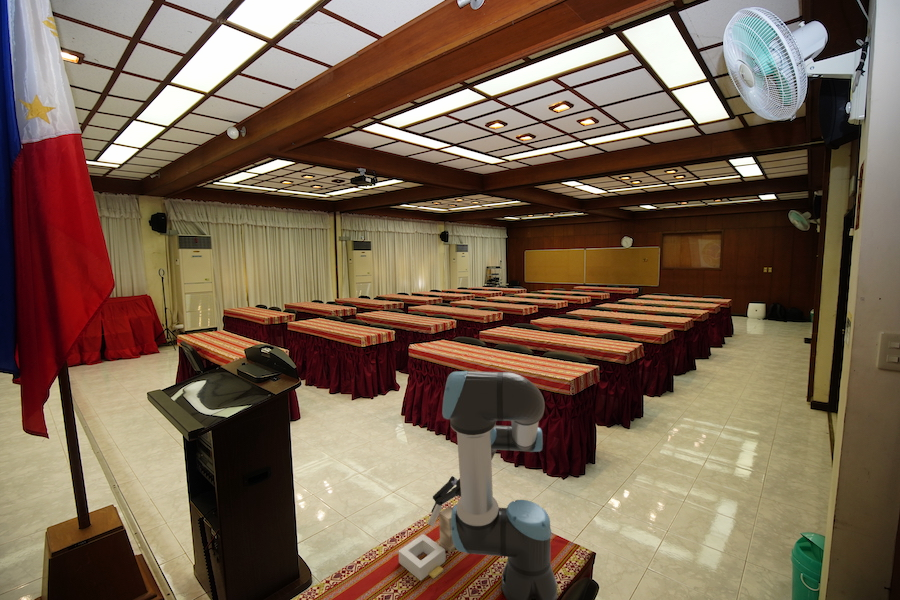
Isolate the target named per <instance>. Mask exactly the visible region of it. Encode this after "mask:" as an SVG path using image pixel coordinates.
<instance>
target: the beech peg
mask: <svg viewBox="0 0 900 600" xmlns="http://www.w3.org/2000/svg"><path fill="white" fill-rule="evenodd" d="M452 510H453V508H452V507H450V506H448V507H446V508H444V509H442V510H441V512H440V513H439V516H438V520H439V521H438V523H439V545H440V546H441V547H443V548H444V549H445V550H447V551H448V552H452V551H453V550H455V549H456V548H455V546H454V544H453V540H452V533H451V530H452V527H451V515H452Z"/></svg>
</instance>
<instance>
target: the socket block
mask: <svg viewBox="0 0 900 600" xmlns="http://www.w3.org/2000/svg"><path fill="white" fill-rule="evenodd" d="M422 553H424V554H426V556H425V557H424V558H422V559H419V558H418V556H419V555H421V554H422ZM445 562H446V549H445V548H444V547H442V546H441V545H440V544H439V543H437V542H436V541H434V540H433V539H431V538H430V537H429V536H427V535H426V534H424V533H422V534H421V535H419V536H418V537H417V538H415V539H414V540H412V541H410V542H409V543H407V544H406V545H405V546H403V547H402V548H400V549H399V550H398V563H399V564H400V565H401V566H402V567H403V568H404V569H406V570H407V571H408V572H409V573H411V574H412V575H413V576H414V577H416V578H417V579H418V580H419V581H420V582H421V581H422V580H424V579H425V578H427V577H430V578H431V579H435V578H436V577H438V576H440V574H441V573H443V572H444V571H445V570H444V568H443V567H441V566H442V565H443V564H445Z"/></svg>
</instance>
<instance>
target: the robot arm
mask: <svg viewBox="0 0 900 600" xmlns="http://www.w3.org/2000/svg"><path fill="white" fill-rule="evenodd" d="M545 404H546V403H545V399H544V396H543V394H542V392H541V390H539V388H538V386H537V385H535V384H534V383H533V382H532V381H531V380H529V379H527V378H526V377H524V376H522V375H520V374H518V373H514V372H510V371H468V370H464V371H462V370H461V371H452V372H451V373H450V374H448V376H447V378H446V382H445V388H444V393H443V400H442V410H441V411H442V417H443V419H445V420H449V423H450V428H451V429H452V430H453V431H454V432H456V437H457V438H456V440H457V453H458V454H457V455H458V469H459V479H457V478H456V477H454V476H453V475H452V476H450V478H449V480H448V481H447V482H446V483H445V484H444V485H443V486H442V487H441V488H439V490H438V491H436V493H435V494H433V495H432V500H434V505H433V507H432V509H431V511H430V513H431V514H430V517H429V518H428V520H427V523H426V524H427V525H429V526H431V527H434V525H436V524H435V523H436V522H437V520H438V519H439V513H440V512H441V511H443V505H444V504H446V503H447V502H449V501H451V500H452V499H454V498H456V497H460V498H459V499H458V501H457V503H456V504H454V506H453V508H452V509H453V510H452V515H451V527H452V530H451V533H452V540H453V544H454V546H455V548H454V549H456V550H457V552H459V553H466V554H469V555H483V556H495V557H505V558H507V561H506V564H505V565H504V569H503V571H502V575H501V590H502V593H503V595H504V597H505V599H506V600H557V598H558V582H557V578H556V576H555V574H554V571H553V567H552V563H551V562H552V560H551V557H552V556H551V555H552V554H551V536H552V529H551V520H550V516H549V514H548V513H547V511H546V510H545V509H544V507H541V506H540V505H539V504H538V503H536V502H533V501H531V500H528V499H516V500H514V501H513V500H512V501H511V502H509V503H508V505H507V507H500V506H499V503H498V501H497V499H496V498H495V497H494V495H493V494H494V493H493V468H492V464H493V463H492V460H493V458H494V456H495V454H496V452H497V450H498V451H514V452H519V451H520V452H529V453H535V452H536V453H537V452H538V453H540V452H541V451H543V445H544V443H543V429H542V428H541V427H539V421H540V420H541V419H542V418H543V416H544V414H545ZM497 421H498V422H500V421H501V422H507V421H508V422H511V425H497Z"/></svg>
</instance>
